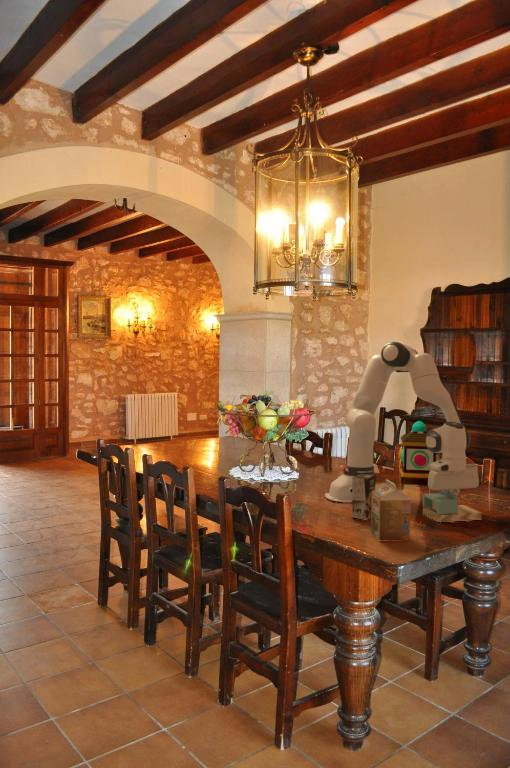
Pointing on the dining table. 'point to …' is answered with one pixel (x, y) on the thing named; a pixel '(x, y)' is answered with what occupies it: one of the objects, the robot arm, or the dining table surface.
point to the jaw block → (434, 506)
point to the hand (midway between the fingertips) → (453, 500)
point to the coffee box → (362, 495)
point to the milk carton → (390, 513)
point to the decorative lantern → (415, 454)
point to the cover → (442, 502)
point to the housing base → (454, 514)
